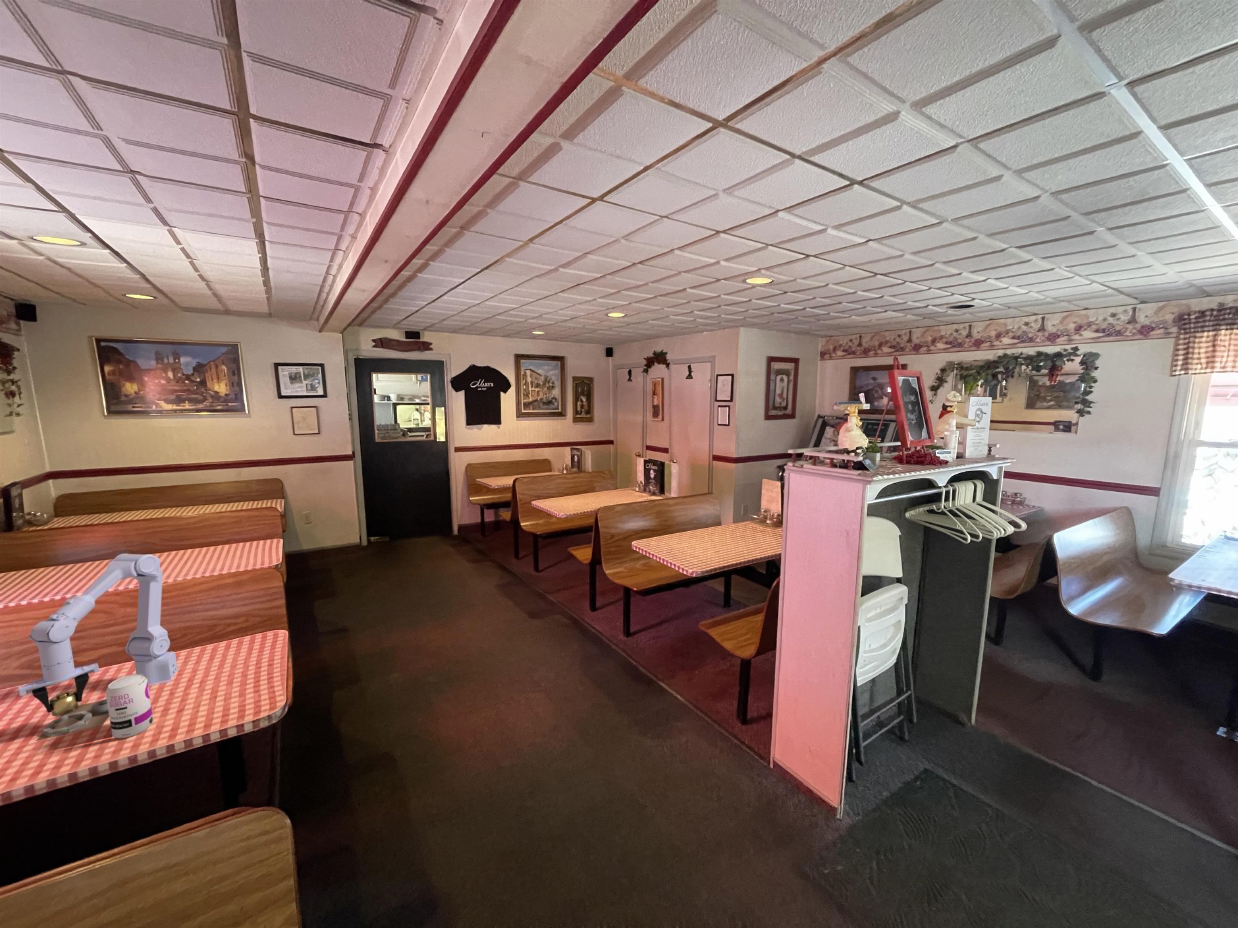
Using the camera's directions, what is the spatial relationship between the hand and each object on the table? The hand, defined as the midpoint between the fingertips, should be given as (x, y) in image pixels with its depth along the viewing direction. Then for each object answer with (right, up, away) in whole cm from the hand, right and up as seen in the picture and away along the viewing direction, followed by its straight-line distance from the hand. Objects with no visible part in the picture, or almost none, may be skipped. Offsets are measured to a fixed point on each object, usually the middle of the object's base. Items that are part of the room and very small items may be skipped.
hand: (64, 705), depth 134 cm
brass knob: (0, -2, 0) cm, 2 cm away
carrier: (0, -6, +5) cm, 8 cm away
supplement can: (+19, -7, 0) cm, 21 cm away
